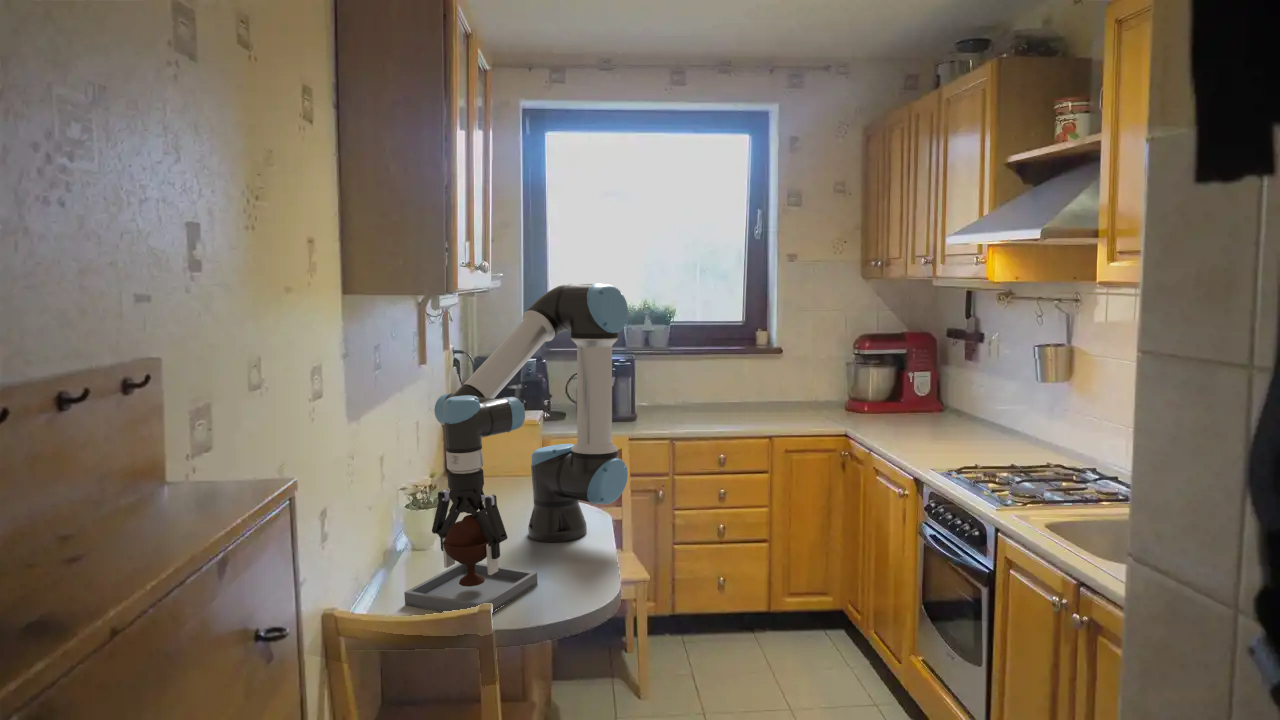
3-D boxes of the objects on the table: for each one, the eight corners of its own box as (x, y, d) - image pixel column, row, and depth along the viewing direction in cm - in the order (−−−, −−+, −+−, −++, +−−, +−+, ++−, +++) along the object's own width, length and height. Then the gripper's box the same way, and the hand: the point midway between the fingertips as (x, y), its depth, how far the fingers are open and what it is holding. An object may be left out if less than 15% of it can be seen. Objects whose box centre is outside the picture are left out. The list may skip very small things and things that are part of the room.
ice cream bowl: (499, 571, 193) (496, 505, 192) (493, 590, 182) (489, 520, 180) (451, 573, 193) (447, 507, 191) (442, 592, 182) (437, 523, 180)
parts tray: (465, 572, 201) (464, 560, 201) (537, 584, 192) (536, 572, 192) (405, 604, 184) (404, 592, 183) (481, 620, 175) (481, 606, 174)
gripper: (410, 468, 187) (417, 567, 189) (499, 478, 176) (505, 582, 179) (433, 461, 193) (439, 556, 196) (521, 469, 183) (526, 570, 185)
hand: (471, 569), depth 187 cm, fingers closed on ice cream bowl, 11 cm apart
